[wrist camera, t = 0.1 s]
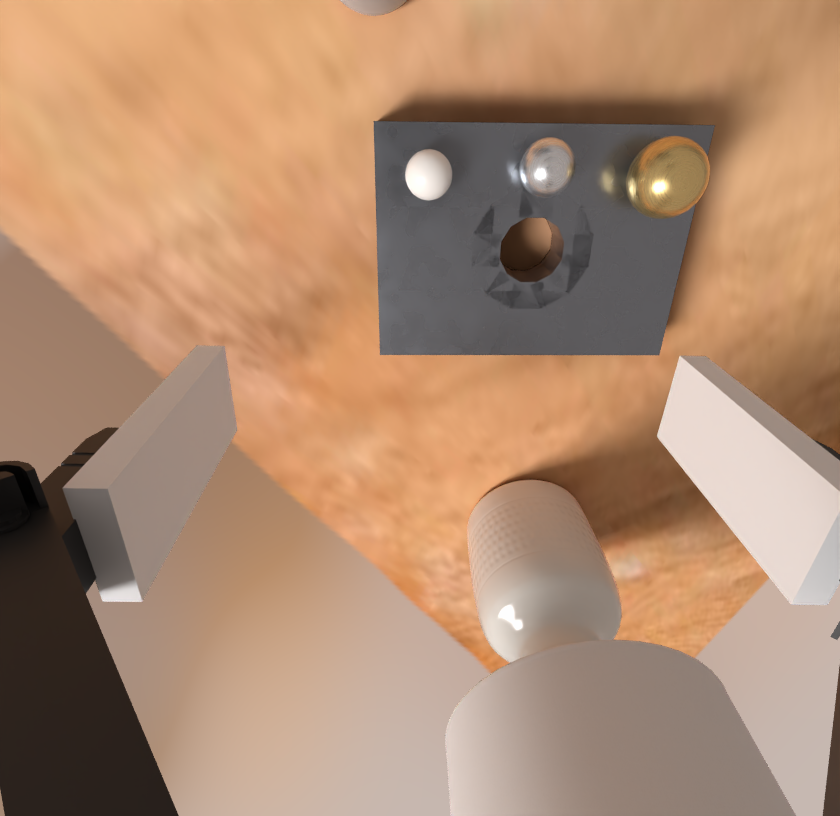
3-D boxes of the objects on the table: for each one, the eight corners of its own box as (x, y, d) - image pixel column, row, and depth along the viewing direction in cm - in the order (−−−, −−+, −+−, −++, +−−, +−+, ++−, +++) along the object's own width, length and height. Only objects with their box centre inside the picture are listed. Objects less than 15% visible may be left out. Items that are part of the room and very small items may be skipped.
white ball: (405, 147, 34) (405, 150, 32) (451, 148, 34) (455, 150, 32) (405, 197, 36) (405, 203, 33) (449, 197, 36) (452, 203, 33)
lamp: (406, 565, 57) (406, 1259, 22) (474, 421, 48) (644, 1169, 14) (563, 604, 60) (776, 1259, 25) (651, 476, 52) (1145, 1187, 17)
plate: (376, 121, 37) (373, 121, 34) (689, 125, 37) (714, 125, 34) (382, 338, 44) (380, 354, 41) (641, 339, 45) (659, 355, 42)
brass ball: (622, 134, 34) (652, 136, 30) (695, 135, 34) (736, 137, 30) (609, 212, 37) (635, 224, 32) (677, 213, 37) (713, 225, 32)
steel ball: (517, 136, 34) (528, 137, 31) (571, 136, 34) (587, 138, 31) (512, 194, 36) (522, 200, 33) (563, 194, 36) (578, 201, 33)
